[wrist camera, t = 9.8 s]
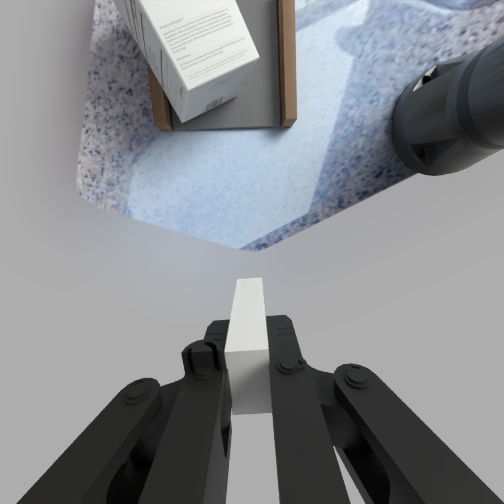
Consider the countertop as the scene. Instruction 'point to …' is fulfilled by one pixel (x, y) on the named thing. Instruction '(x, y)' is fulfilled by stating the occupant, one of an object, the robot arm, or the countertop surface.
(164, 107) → the rails
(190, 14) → the supplement box
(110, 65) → the countertop surface
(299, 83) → the countertop surface
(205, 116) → the mat
